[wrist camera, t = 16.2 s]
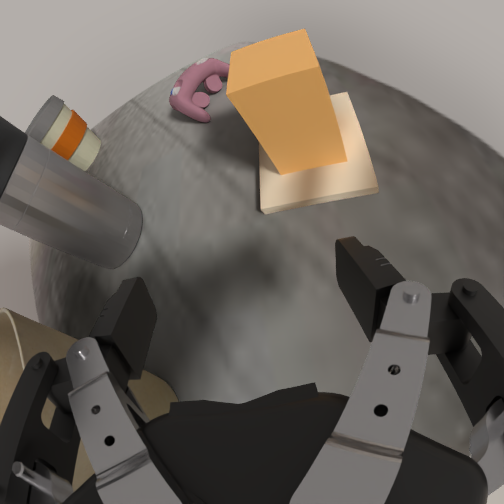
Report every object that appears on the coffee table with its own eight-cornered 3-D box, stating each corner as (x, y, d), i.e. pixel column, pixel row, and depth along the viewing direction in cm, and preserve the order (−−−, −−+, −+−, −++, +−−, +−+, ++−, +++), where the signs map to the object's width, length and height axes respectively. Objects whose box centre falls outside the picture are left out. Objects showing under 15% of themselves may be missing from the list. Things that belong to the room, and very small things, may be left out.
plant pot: (231, 482, 18) (81, 557, 4) (122, 461, 23) (3, 476, 9) (205, 326, 24) (28, 285, 10) (105, 343, 29) (-18, 319, 15)
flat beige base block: (265, 214, 25) (233, 179, 19) (261, 120, 29) (237, 82, 23) (378, 192, 21) (374, 147, 16) (348, 98, 25) (336, 54, 20)
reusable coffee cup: (96, 170, 43) (34, 129, 30) (64, 192, 47) (10, 161, 34) (113, 122, 47) (63, 82, 34) (80, 147, 52) (34, 115, 39)
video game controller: (234, 83, 36) (199, 56, 32) (249, 73, 32) (210, 43, 28) (197, 130, 35) (157, 103, 32) (209, 124, 32) (165, 92, 28)
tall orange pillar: (281, 175, 24) (226, 94, 15) (277, 127, 26) (231, 52, 17) (347, 161, 22) (319, 66, 13) (335, 114, 24) (304, 28, 15)
